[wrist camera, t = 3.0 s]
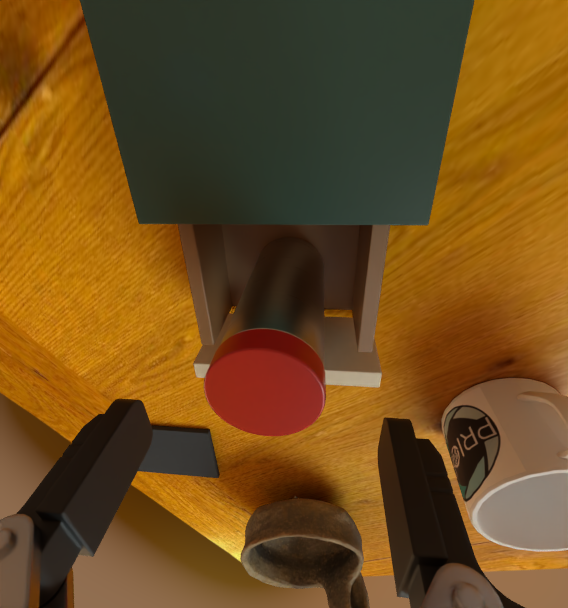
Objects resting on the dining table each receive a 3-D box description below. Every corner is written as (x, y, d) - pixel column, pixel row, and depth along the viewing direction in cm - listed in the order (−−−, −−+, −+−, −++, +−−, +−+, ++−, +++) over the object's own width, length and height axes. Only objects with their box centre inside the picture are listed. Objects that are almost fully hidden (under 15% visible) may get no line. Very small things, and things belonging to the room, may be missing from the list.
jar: (258, 298, 23) (212, 433, 13) (253, 235, 20) (193, 345, 11) (323, 299, 22) (323, 441, 13) (326, 236, 20) (328, 351, 10)
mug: (550, 454, 30) (616, 556, 24) (431, 454, 32) (460, 548, 25) (599, 340, 24) (712, 436, 17) (446, 347, 25) (492, 435, 19)
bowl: (306, 459, 35) (301, 573, 26) (401, 530, 40) (421, 643, 32) (225, 498, 41) (199, 601, 32) (317, 555, 46) (315, 656, 38)
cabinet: (394, 187, 20) (428, 225, 13) (195, 188, 21) (138, 224, 15) (445, -173, 13) (569, -461, 6) (142, -137, 14) (-13, -344, 8)
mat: (138, 467, 39) (137, 471, 39) (119, 422, 35) (117, 426, 34) (219, 474, 38) (218, 478, 38) (209, 429, 34) (208, 433, 33)
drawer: (366, 343, 25) (377, 401, 20) (222, 337, 26) (199, 391, 21) (392, 147, 18) (418, 162, 13) (193, 151, 19) (147, 166, 14)
